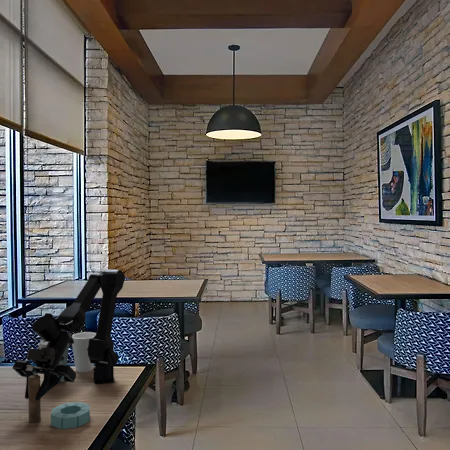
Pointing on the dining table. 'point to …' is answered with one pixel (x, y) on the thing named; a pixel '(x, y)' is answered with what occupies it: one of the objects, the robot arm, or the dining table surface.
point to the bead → (70, 415)
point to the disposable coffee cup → (65, 355)
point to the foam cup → (82, 351)
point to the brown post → (33, 403)
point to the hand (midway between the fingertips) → (31, 399)
